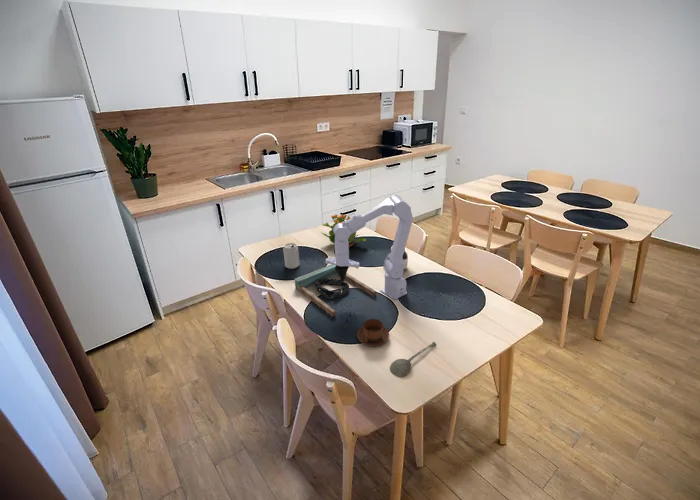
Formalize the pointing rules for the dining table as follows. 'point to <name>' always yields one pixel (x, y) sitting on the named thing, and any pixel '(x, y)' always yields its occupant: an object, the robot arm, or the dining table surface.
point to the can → (291, 255)
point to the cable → (328, 293)
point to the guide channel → (323, 273)
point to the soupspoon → (404, 364)
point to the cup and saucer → (373, 333)
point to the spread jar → (405, 260)
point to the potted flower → (340, 220)
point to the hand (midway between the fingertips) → (343, 280)
